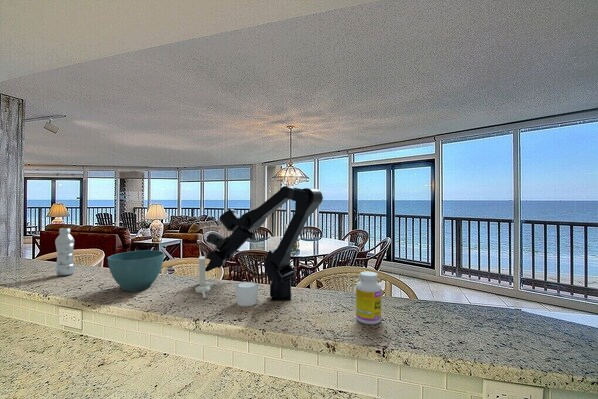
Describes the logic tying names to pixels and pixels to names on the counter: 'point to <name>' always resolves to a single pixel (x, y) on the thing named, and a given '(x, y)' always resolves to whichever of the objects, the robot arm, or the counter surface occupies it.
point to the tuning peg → (202, 278)
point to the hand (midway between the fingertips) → (206, 270)
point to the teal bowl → (136, 268)
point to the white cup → (247, 293)
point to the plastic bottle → (64, 252)
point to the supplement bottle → (368, 299)
